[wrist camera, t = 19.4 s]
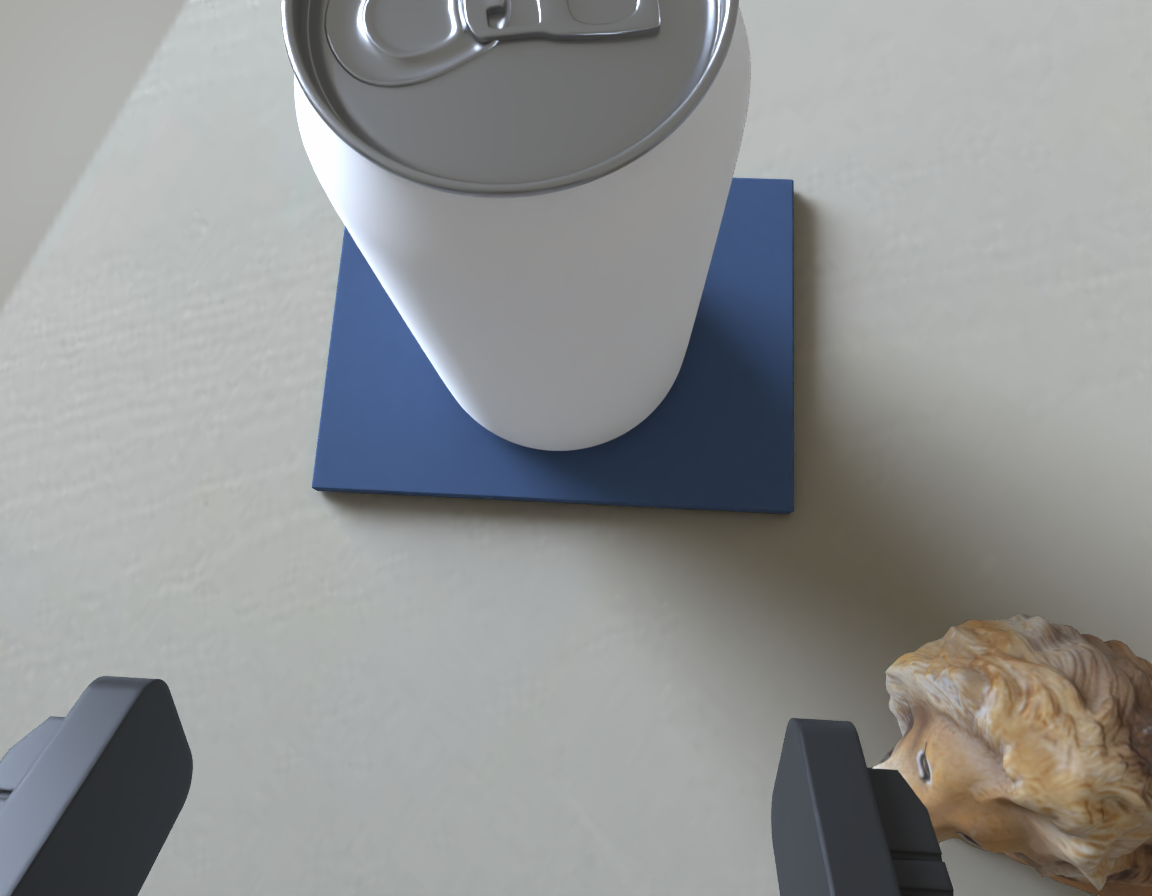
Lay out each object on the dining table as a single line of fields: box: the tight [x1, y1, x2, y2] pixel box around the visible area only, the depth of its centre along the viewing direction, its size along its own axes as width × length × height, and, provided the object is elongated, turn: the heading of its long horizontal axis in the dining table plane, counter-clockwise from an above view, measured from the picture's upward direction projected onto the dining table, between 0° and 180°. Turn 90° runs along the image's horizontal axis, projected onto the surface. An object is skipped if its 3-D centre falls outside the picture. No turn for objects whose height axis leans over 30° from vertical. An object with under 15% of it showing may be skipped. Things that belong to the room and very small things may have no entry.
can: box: [281, 0, 751, 451], centre depth 16 cm, size 6×6×12 cm
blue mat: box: [312, 178, 794, 514], centre depth 22 cm, size 12×9×1 cm
